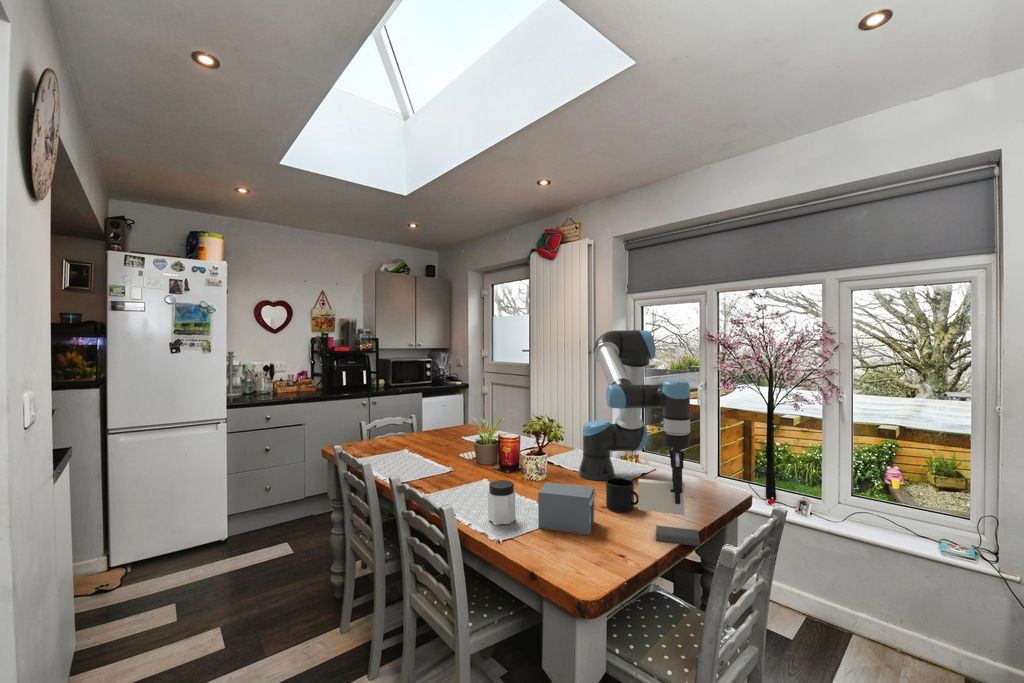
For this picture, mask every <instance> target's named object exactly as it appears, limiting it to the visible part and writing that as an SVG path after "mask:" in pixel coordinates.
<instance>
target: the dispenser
mask: <svg viewBox="0 0 1024 683" xmlns="http://www.w3.org/2000/svg"><path fill="white" fill-rule="evenodd" d="M537 494H538V496H537V497H538V503H537V504H538V505H537V506H538V511H537V512H538V517H537V518H538V529H544V530H552V531H558V532H559V531H560V532H563V533H565V532H566V533H572V534H578V535H579V534H580V535H587V536H588V535H591V532H592V526H594V524H595V498H596V496H597V491H596V490H595V487H594V486H585V485H577V484H576V485H575V484H566V483H565V484H564V483H555V482H545V483H544V485H543V486H542V487H541V488H540V489H539V491H538V492H537Z"/></svg>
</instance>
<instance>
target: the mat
mask: <svg viewBox="0 0 1024 683" xmlns="http://www.w3.org/2000/svg"><path fill="white" fill-rule="evenodd" d="M655 527H656V528H655V529H656V530H655V540H656V542H660V543H661V542H662V543H663V542H664V543H670V544H676V543H679V545H684V546H690V547H691V546H692V547H700V548H701V545H702V544H701V541H700V535H699V531H698V529H690V528H681V527H674V526H666V525H665V526H664V525H658V524H657V525H656V526H655Z"/></svg>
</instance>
